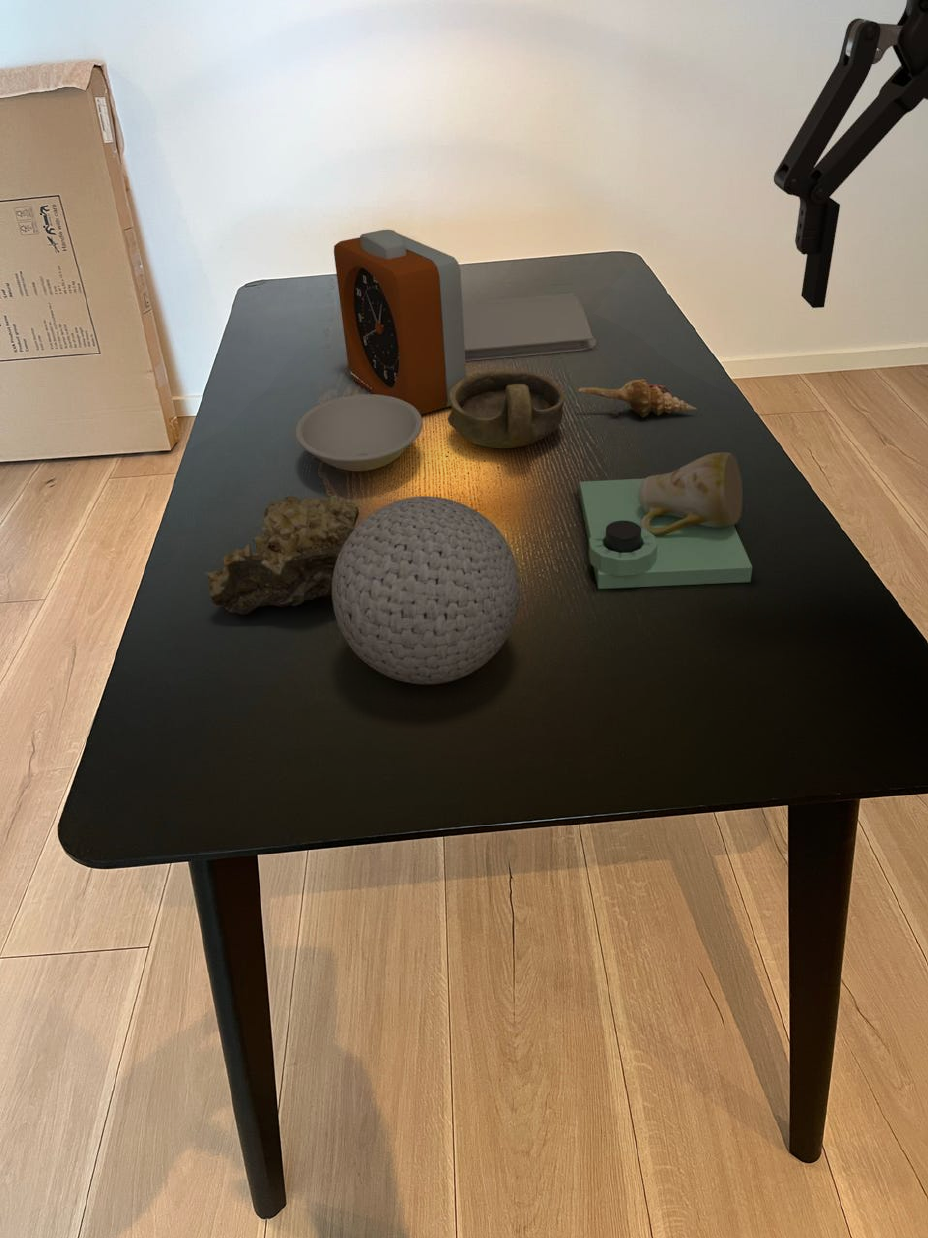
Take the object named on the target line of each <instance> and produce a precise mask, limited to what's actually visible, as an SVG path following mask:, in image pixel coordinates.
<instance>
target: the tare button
mask: <svg viewBox="0 0 928 1238" xmlns="http://www.w3.org/2000/svg"><path fill="white" fill-rule="evenodd" d="M640 544H641V527H640V526H639V525H638V524H636V523H634V522H631V521H615V522H612V523H610V524H609V525H608V526H607V527H606V540H605V546H606V548H607V549H608V550H610V551H615V552H619V553H629V552H634V551H636V550H639V548H640Z"/></svg>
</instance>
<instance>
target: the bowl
mask: <svg viewBox="0 0 928 1238" xmlns="http://www.w3.org/2000/svg"><path fill="white" fill-rule="evenodd" d="M449 400H450V403H451V405H452V406H451V410H450V413H449V415H448V418H447V421H448V424H449V425H450V426H451V427H452V428H453V429H454V430H455V431H456V433H457V434H458V435H460V437H462V438H463V439H465V440H467V441H469V442H471V443H472V444H476V445H478V446H481V447H485V448H492V449H494V448H495V449H515V448H521V447H526V446H530V445H533V444H535V443H537V442H538V441H540V440H543V439H544V438H546V437H548V436H549V435H551V434H552V433H553V432H554V431H555V430H556V429H557V428H559V426H560V424H561V422H562V419H563V417H564V416H563V414H564V409H563V406H564V403H565V392H564V391H563V388H562V387H561V386H560V385H559V384H558V383H557V382H556V381H555V380H553V379H551V378H549V377H546V376H545V375H541V374H538V373H535V372H532V371H525V370H516V369H515V370H512V369H511V370H510V369H507V370H506V369H502V370H486V371H481V372H475V373H473V374H470V375H466V378H464V379H463V380H461V381H460V382H458V383H457V384H456V385H455V386H454V387H452V388H451V390H450V392H449Z"/></svg>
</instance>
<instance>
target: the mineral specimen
mask: <svg viewBox="0 0 928 1238" xmlns="http://www.w3.org/2000/svg"><path fill="white" fill-rule="evenodd" d="M358 507H359V505H358V504H357V503H355V502H350V501H348V500H345V498H344V497H343V496H341V497H338V496H337V495H334V496H332V497H329V498H328V499H327V498H325V499H323V498H320V497H319V498H318V497H317V498H316V497H314V496H313V497H312V498H307V497H306V498H303V499H301V498H298V497H295V496H287V497H285V498H284V499H281V500H280V499H279V500H275V501H272V502H270V503H269V504H268V505H267V506H266V507H265V508H264V514H263V515H264V518H263V520H262V529H261V532H262V536H259V535H257V536H255V537H253V538H252V540H253V542H254V544H255V545H256V552H252V550H251V545H250V543H248V544H247V545H246V546H245V547H244V548H242V549H239V548H238V547H237V548H236V549H235V550H234V551H233V553H232V554H231V553H230V552H228V553H226V554H225V553H224V554H223V557H222V565H223V566H222V567H221V571H220V572H219V571H217V570H214V571H211V572H204V574H205V576H206V578H207V580H208V581H209V582H210V583H209V584H207V587H209V588H210V590H209V595H210V599H211V601H212V603H213V604H214V605H215V606H222V607H223V608H224V609H225V610H227V611H228V613H231V614H239V615H241V616H243V615H247V614H250V613H251V612H252V611H254V610H255V609H257V608H259V607H264V606H274V607H275V606H276V607H281V608H282V607H283V608H284V607H288V606H293V607H296V606H298V605H301V604H303V602H305V601H308V600H309V601H312V600H315V599H317V598H321V597H325V596H327V595H330V596H332V580H333V573H334V568H335V564H336V561H337V558H338V556H339V553H340V551H341V549H342V547H343V545H344V543H345V542H346V540H347V538H348V537H349V536H350V534H351V533H352V532H353V530H354V529H355V525H356V523H357V521H358V518H359V515H360V510H359V508H358Z"/></svg>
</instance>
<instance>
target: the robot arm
mask: <svg viewBox="0 0 928 1238" xmlns="http://www.w3.org/2000/svg"><path fill="white" fill-rule="evenodd" d="M891 47H892V50H893V51H894V53H895V55H896V57H897V59H898V62H899V64H900V65H899V67H898V68H896V70H895V71H894V72H893V73H892V74H891V76H890V77H889V78H888V79H887V80H886V82H884V83H883V85H882V86H881V88H880V89H879V92H878V94H877V95H876V97H875V98H874V99H873V100H872V101H871V102H870V104H869V105H868V106H867V107H866V109H864V110H863V112H862V113H861V114H860V115H859V116H858V118H857V119H856V120H855V121H853V123H852V124H851V125H850V126H849V128H847V130H846V131H845V132H844V133H843V134H842V135H841V136H840V138H839V139H838V140H836V142H835V143H834V144H833V146H831V148H830V149H829V150H828V151H827V152H826V153H825V154H824V156H823V157H822V158H821V156H822V154H823V153H824V151H825V149H826V148H827V146H828V145H829V143H830V141H831V140H832V138H833V136H834V134H835V132H836V131H837V129H838V128H839V126H840V124H841V123H842V121H843V119H844V117H845V116H846V114H847V113H848V111H849V109H850V107H851V105H852V104H853V102H854V101H855V99H856V97H857V95H858V93H859V92H860V90H861V88H862V87H863V85H864V84H865V82H866V80H867V77H868V76H869V73H870V71H871V69H872V66H873V65H876V64H879V62H881V60H882V59H883V57H884V55H885V53H886V52H887V50H889V49H890V48H891ZM923 100H927V101H928V0H906V4H905V7H904V10H903V13H902V15H901V17H900V18H899V20H898V22H897V23H896V24H894V23H883V22H881V23H880V22H876V21H873V20H869V19H865V18H861V17H858V18H854V19H853V20H851V21H849V23H848V25H847V26H846V29H845V33H844V38H843V42H842V46H841V50H840V54H839V59H838V62H837V64H836V66H835V67H834V68H833V70H832V73H831V74H830V76H829V77H828V79H827V81H826V83H825V85H824V86H823V87H822V90H821V92H820V93H819V95H818V96H817V98H816V100H815V102H814V104H813V106H812V107H811V109H810V111H809V112H808V114H807V116H806V118H805V119H804V121H803V122H802V125H801V126H800V128H799V130H798V132H797V134H796V135H795V137H794V138H793V140H792V142H791V144H790V146H789V148H788V149H787V151H786V153H785V155H784V156H783V158H782V160H781V162H780V163H779V165H778V167H777V168H776V170H775V172H774V175H773V182H774V184H775V186H777V187H778V188H779V189H780V190H781V191H783V192H784V193H785V194H787V195H789V196H795V197H797V198H798V199H799V209H798V217H797V223H796V225H797V226H796V233H795V240H794V242H795V247H796V249H797V250H798V251H799V252H800V254H802V255H804V256H805V255H806V260H805V265H804V266H805V267H804V272H803V273H804V274H803V280H802V289H801V295H800V296H801V297H802V298H803V299H804V301H806V302H807V304H808V305H809V306H810V307H811V308H812V309H819V308H821V309H822V308H825V303H826V297H827V291H828V285H829V278H830V273H831V267H832V260H833V253H834V247H835V242H836V241H835V240H836V233H837V228H838V222H839V217H840V210H841V209H840V208H841V204H840V203H838V202H837V201H836V200H834V199H833V198H831V197H832V195H833V194H834V193H835V192H836V191H837V190H838V189H839V188H840V187H841V185H842V184H843V183H844V182H845V181H846V180H847V179H848V178H849V177H850V175H852V173H853V172H854V171H855V170H856V169H857V168H858V167H859V166H860V165H861V163H862V162H863V161H864V160H865V159H866V158H867V157H868V156H869V155H870V153H871V152H872V151H873V150H874V149H875V148H876V147H877V146H878V145H879V144H880V143H881V142H882V140H883V139H884V138H885V137H886V136H887V135H888V134H889V133H890V132H891V130H892V129H893V128H894V127H895V126H896V125H897V124H898V123H899V122H900V120H902V119H903V117H904V116H905V115H907V114H908V113H910V112H912V111H913V110H914V109H916V108H917V107H918V106H919V104H920V103H922V101H923ZM820 158H821V159H820Z"/></svg>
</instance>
